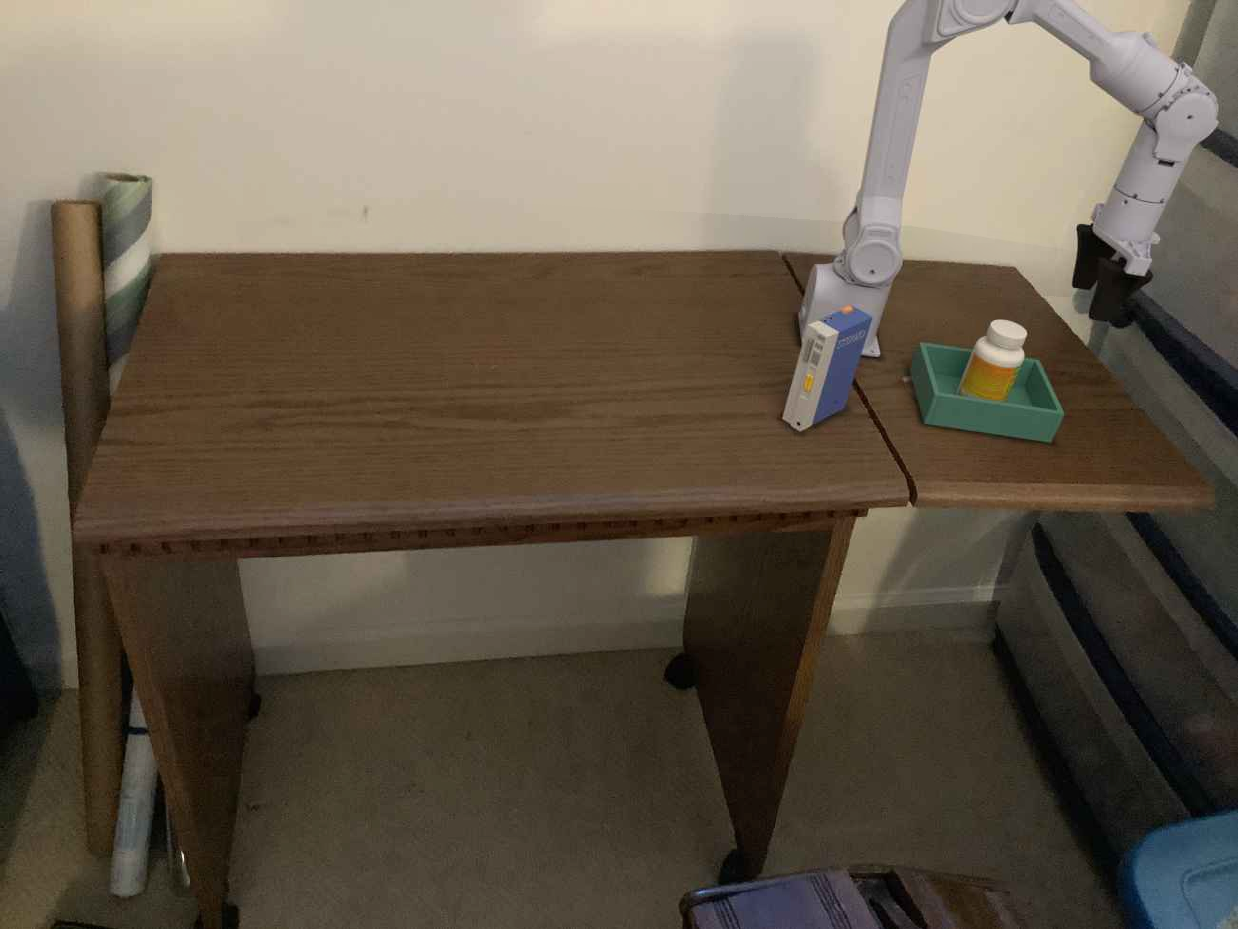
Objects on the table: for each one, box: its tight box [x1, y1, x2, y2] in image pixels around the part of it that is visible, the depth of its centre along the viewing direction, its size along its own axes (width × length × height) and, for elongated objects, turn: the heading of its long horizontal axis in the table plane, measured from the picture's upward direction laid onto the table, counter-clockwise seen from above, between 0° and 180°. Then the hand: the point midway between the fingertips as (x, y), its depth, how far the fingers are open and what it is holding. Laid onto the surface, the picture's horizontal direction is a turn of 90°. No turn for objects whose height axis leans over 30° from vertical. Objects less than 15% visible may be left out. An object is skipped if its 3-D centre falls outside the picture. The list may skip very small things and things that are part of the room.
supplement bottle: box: [956, 319, 1028, 402], centre depth 113 cm, size 5×5×10 cm
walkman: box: [781, 306, 873, 432], centre depth 106 cm, size 8×3×12 cm, turn 133°
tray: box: [908, 341, 1065, 444], centre depth 115 cm, size 14×11×4 cm
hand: (1088, 303), depth 117 cm, fingers open, 7 cm apart
